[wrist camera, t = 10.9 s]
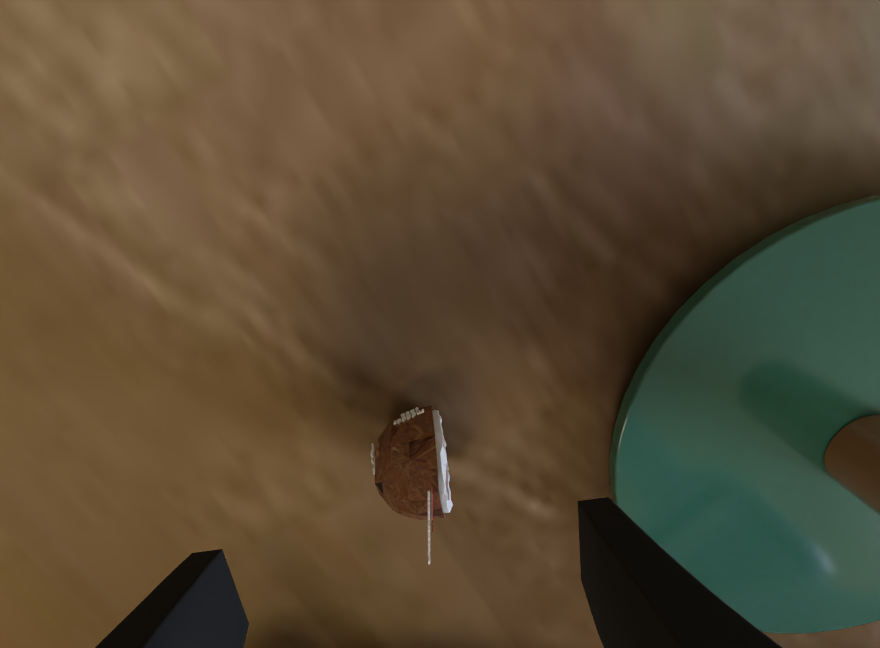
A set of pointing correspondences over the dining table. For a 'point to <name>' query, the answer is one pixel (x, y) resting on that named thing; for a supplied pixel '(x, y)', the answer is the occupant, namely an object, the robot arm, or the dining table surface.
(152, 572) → the dining table surface
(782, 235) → the pot lid
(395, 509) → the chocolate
